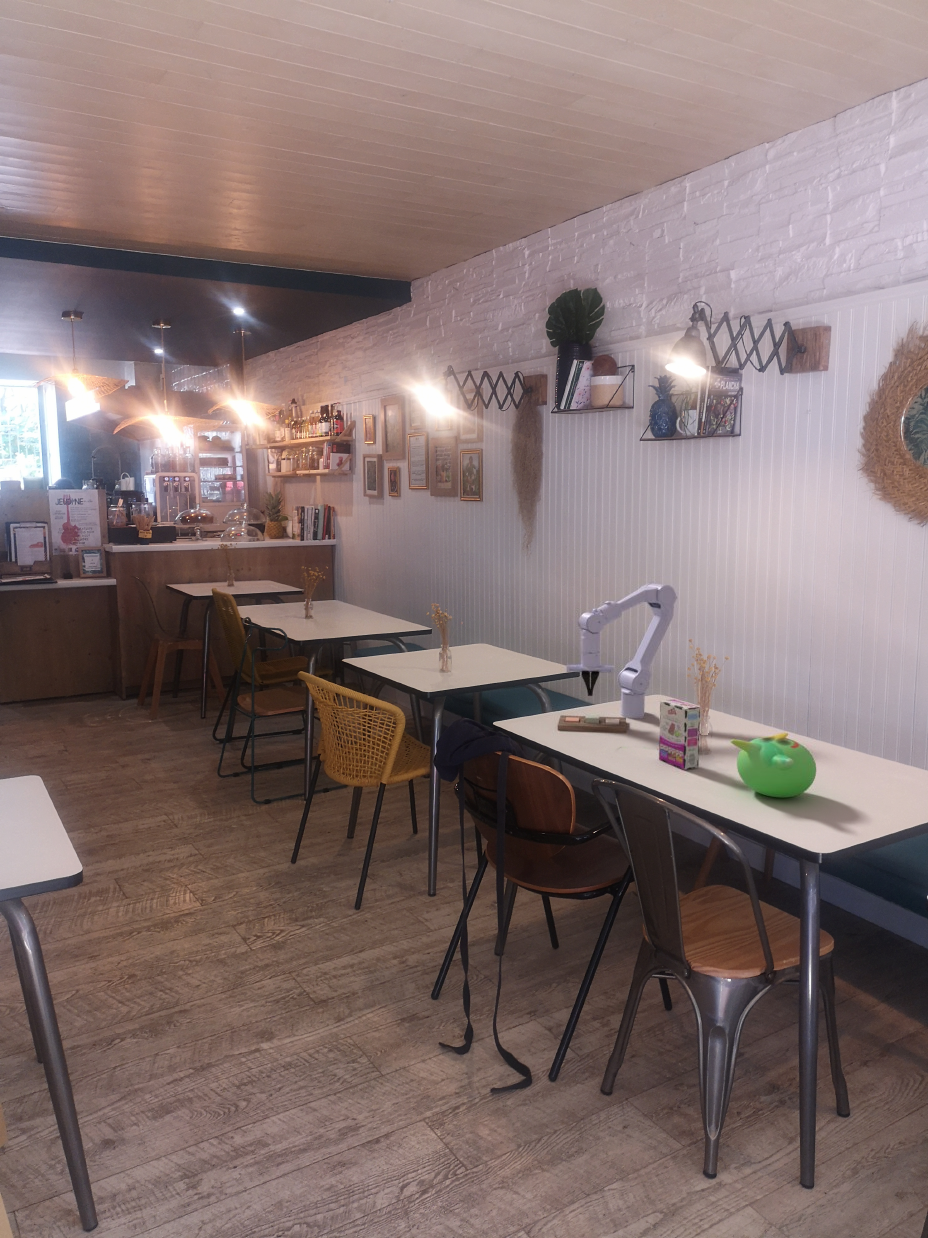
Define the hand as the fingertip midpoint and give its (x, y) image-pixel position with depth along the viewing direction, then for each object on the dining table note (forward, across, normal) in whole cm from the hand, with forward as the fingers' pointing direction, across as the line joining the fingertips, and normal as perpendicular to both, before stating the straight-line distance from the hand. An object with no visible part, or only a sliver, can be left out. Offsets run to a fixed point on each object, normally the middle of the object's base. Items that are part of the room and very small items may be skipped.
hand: (590, 695), depth 281 cm
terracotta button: (+9, -5, -7) cm, 12 cm away
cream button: (+9, +7, -7) cm, 13 cm away
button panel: (+9, +1, -7) cm, 12 cm away
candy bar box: (+10, +25, -37) cm, 46 cm away
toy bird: (+10, +46, -59) cm, 75 cm away
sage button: (+8, +1, -7) cm, 11 cm away
